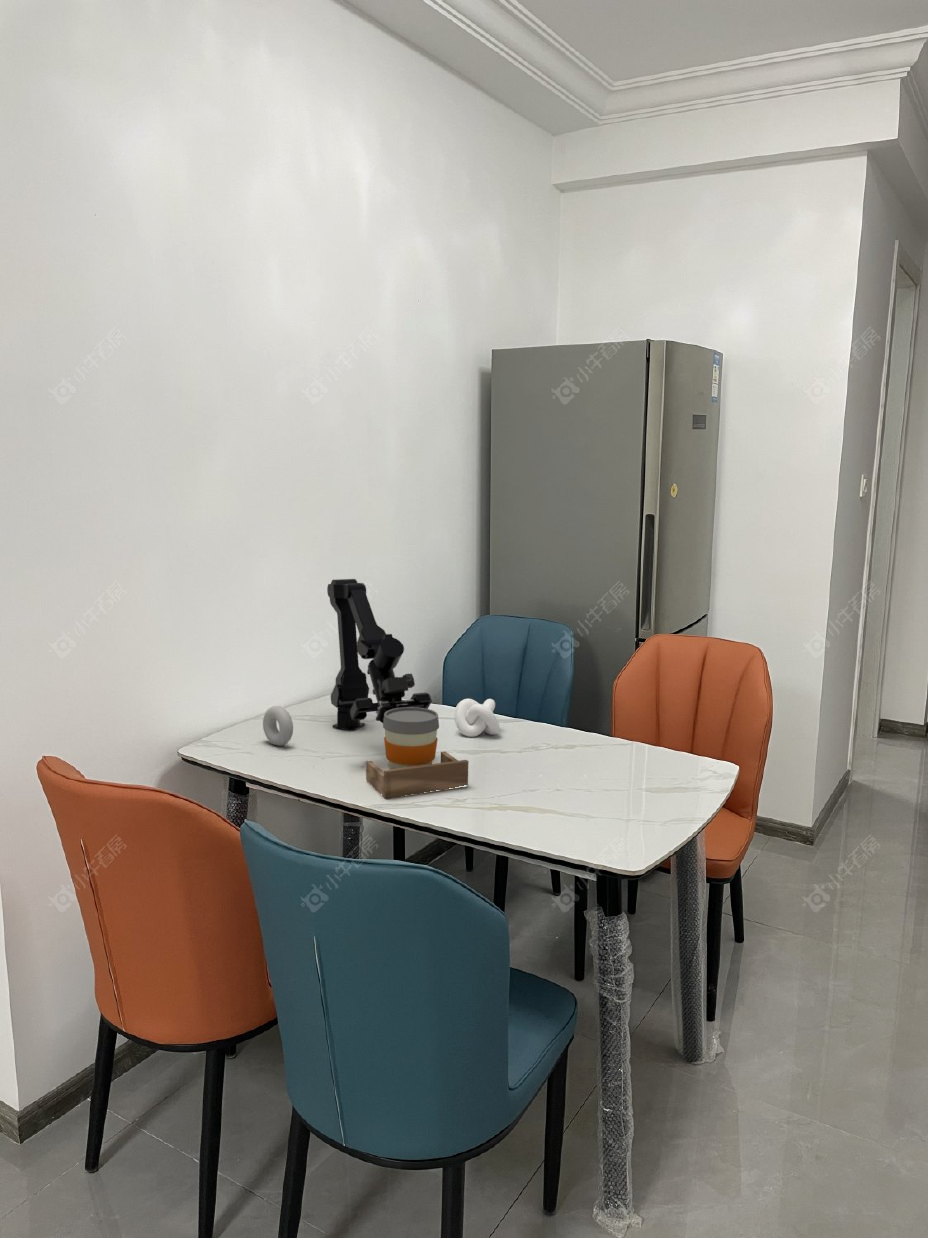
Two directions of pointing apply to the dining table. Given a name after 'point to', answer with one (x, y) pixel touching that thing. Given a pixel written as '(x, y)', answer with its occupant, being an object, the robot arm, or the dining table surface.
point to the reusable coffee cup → (410, 736)
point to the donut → (284, 725)
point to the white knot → (476, 717)
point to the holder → (418, 777)
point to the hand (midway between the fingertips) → (400, 738)
